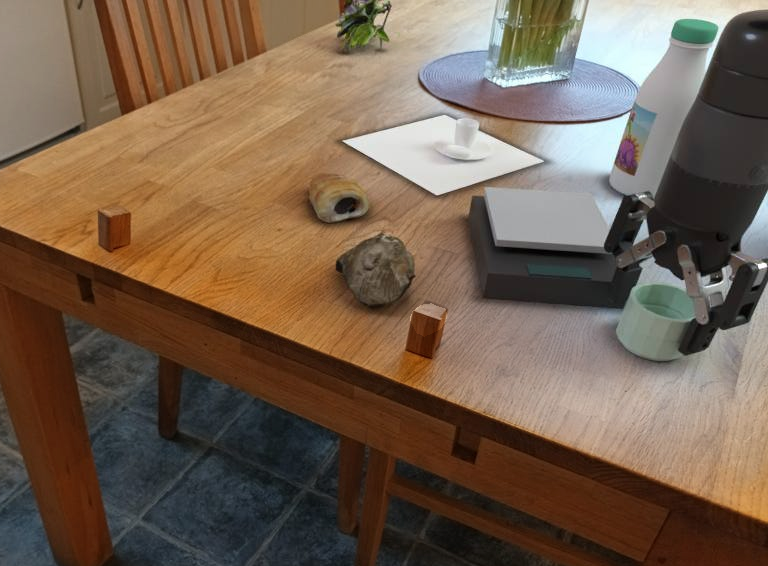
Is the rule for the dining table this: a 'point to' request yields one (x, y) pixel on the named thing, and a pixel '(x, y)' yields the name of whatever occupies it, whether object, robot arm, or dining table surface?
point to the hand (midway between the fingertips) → (651, 325)
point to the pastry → (337, 197)
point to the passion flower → (362, 23)
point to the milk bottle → (662, 108)
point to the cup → (655, 320)
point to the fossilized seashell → (377, 270)
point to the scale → (541, 247)
